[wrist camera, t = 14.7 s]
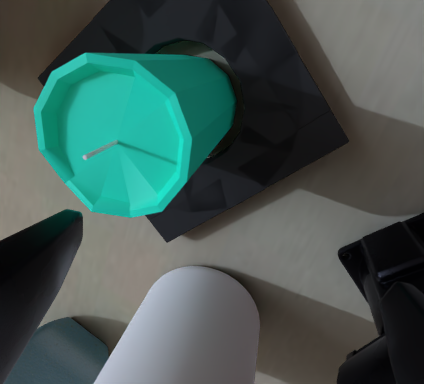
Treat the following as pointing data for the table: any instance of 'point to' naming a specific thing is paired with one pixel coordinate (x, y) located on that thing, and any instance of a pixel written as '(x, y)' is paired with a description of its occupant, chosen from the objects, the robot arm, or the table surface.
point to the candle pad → (251, 90)
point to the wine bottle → (189, 333)
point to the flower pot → (60, 356)
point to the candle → (132, 126)
